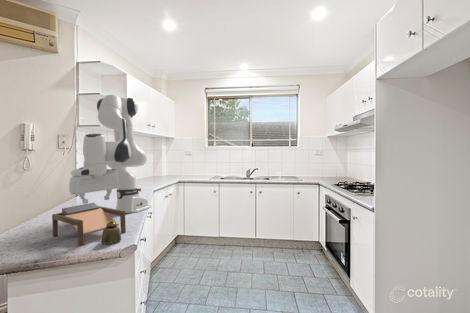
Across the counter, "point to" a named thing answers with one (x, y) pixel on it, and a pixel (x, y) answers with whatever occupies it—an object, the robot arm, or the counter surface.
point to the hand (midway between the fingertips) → (96, 201)
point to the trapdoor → (89, 217)
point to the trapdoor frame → (79, 223)
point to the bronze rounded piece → (111, 233)
